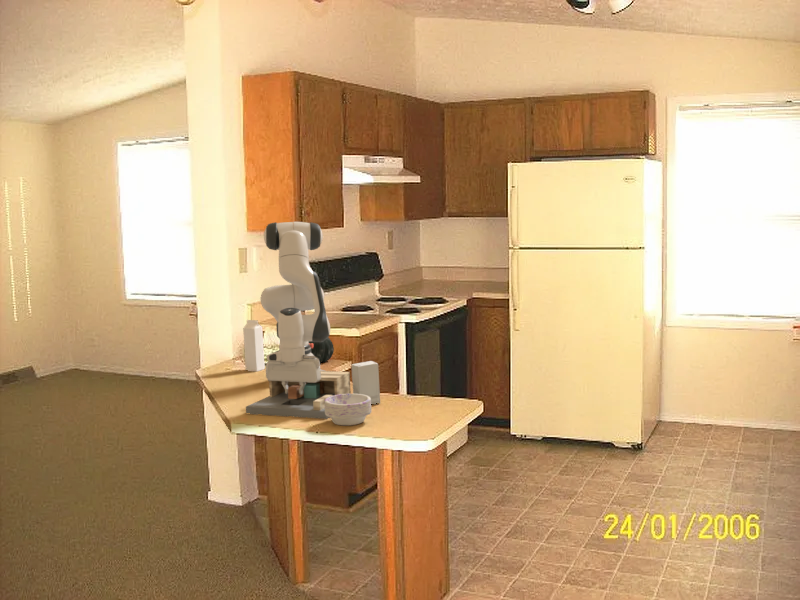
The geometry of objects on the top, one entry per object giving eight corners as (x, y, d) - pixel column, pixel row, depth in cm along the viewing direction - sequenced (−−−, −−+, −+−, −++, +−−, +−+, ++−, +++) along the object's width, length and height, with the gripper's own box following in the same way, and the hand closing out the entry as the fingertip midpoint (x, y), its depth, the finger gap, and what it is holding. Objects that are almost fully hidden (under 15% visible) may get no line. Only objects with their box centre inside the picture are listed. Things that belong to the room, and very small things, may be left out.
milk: (256, 371, 372) (253, 321, 370) (245, 370, 375) (242, 320, 372) (265, 368, 378) (262, 319, 375) (253, 368, 380) (250, 318, 378)
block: (308, 395, 311) (307, 383, 311) (320, 395, 310) (319, 383, 310) (304, 398, 307) (303, 385, 306) (316, 398, 306) (315, 385, 305)
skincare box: (373, 400, 309) (372, 360, 308) (381, 404, 304) (379, 362, 302) (352, 404, 306) (350, 363, 304) (359, 407, 300) (357, 365, 299)
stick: (326, 403, 298) (326, 394, 298) (333, 403, 297) (332, 394, 297) (313, 409, 289) (313, 401, 289) (320, 410, 288) (319, 401, 288)
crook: (303, 392, 315) (302, 381, 315) (324, 393, 313) (323, 382, 313) (288, 398, 299) (288, 387, 299) (310, 399, 298) (309, 387, 298)
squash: (307, 345, 401) (301, 325, 390) (338, 346, 398) (333, 326, 387) (301, 370, 392) (294, 350, 380) (333, 371, 389) (327, 351, 378)
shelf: (284, 390, 321) (283, 369, 320) (350, 393, 311) (349, 371, 310) (269, 397, 311) (268, 375, 310) (337, 400, 301) (336, 378, 300)
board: (282, 396, 322) (282, 390, 321) (358, 400, 310) (358, 394, 310) (246, 413, 298) (245, 406, 297) (326, 418, 286) (326, 411, 286)
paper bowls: (358, 430, 271) (357, 405, 270) (316, 426, 278) (315, 402, 277) (379, 418, 285) (379, 394, 284) (339, 414, 291) (338, 391, 290)
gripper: (323, 354, 299) (325, 393, 300) (271, 352, 306) (273, 390, 308) (314, 357, 293) (316, 397, 294) (262, 355, 300) (264, 394, 302)
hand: (294, 393), depth 301 cm, fingers closed on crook, 3 cm apart
